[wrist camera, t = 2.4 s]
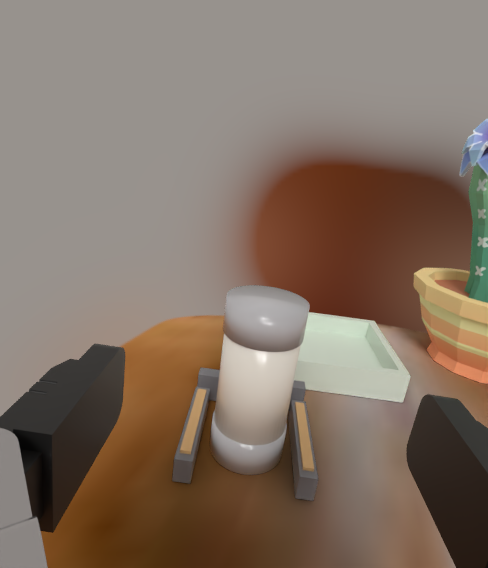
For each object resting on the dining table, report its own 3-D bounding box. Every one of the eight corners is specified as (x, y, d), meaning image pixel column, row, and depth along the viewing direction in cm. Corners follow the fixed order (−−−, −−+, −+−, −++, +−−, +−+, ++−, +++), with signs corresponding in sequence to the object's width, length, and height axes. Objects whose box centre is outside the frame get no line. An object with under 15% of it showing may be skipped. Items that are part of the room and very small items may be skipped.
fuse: (280, 427, 27) (305, 291, 24) (283, 480, 23) (314, 321, 19) (214, 418, 27) (230, 281, 24) (204, 468, 23) (222, 309, 19)
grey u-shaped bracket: (300, 404, 30) (304, 381, 29) (313, 500, 21) (319, 471, 21) (198, 390, 30) (200, 367, 29) (172, 481, 21) (174, 451, 21)
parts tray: (368, 342, 42) (374, 320, 41) (402, 402, 32) (410, 375, 31) (231, 323, 42) (233, 302, 42) (219, 377, 32) (223, 350, 31)
